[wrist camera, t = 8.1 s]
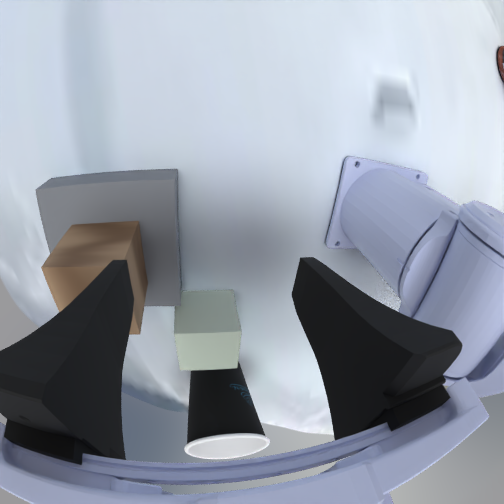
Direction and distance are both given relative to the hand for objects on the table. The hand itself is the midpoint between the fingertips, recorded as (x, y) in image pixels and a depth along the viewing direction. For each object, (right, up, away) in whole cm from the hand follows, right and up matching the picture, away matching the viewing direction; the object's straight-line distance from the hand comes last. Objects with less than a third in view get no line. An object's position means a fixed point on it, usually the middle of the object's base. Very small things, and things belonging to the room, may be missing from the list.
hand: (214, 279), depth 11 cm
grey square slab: (-9, +3, +8) cm, 13 cm away
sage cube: (-3, -4, +14) cm, 15 cm away
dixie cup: (-3, -11, +18) cm, 21 cm away
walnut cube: (-8, +1, +6) cm, 10 cm away
